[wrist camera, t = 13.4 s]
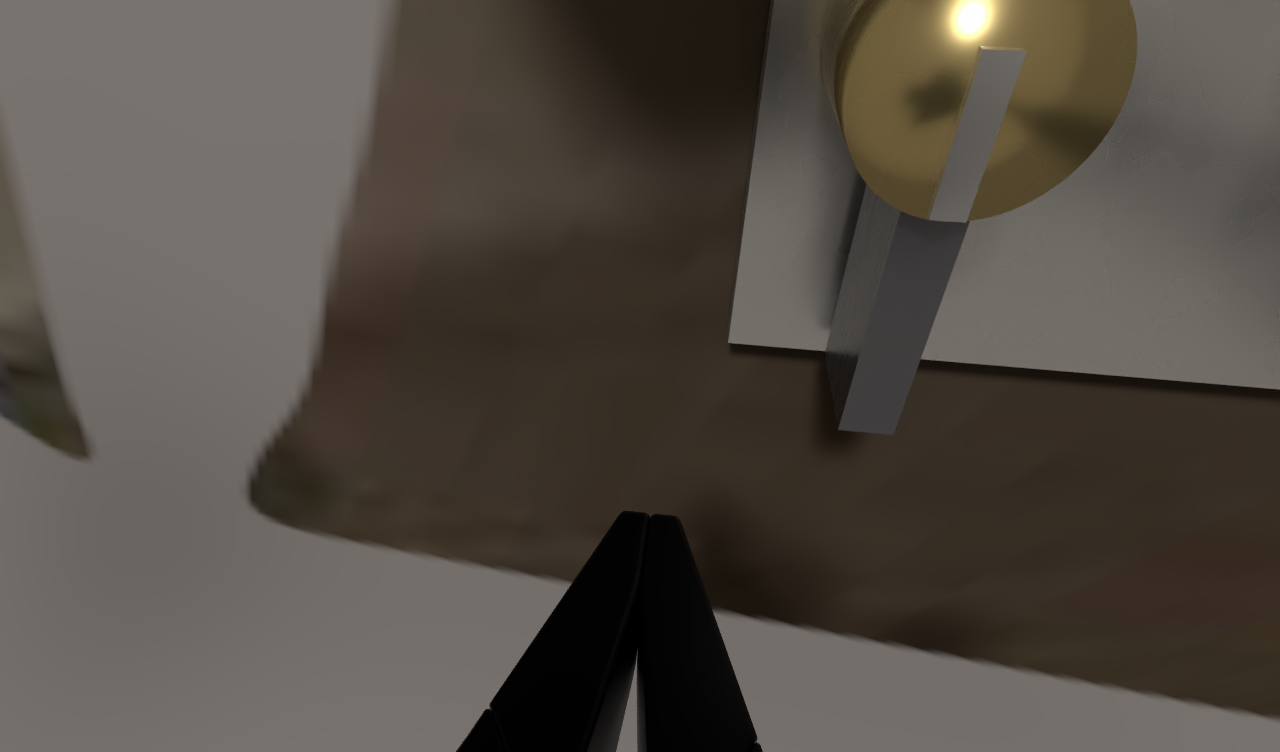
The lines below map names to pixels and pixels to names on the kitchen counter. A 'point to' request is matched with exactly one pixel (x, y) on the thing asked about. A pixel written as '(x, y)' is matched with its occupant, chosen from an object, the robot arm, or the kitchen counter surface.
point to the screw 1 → (951, 154)
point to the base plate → (1055, 215)
